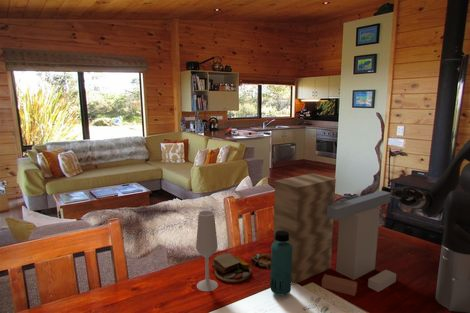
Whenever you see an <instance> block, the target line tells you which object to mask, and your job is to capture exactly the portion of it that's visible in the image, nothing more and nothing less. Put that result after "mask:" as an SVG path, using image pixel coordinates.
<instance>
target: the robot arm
mask: <svg viewBox="0 0 470 313" xmlns="http://www.w3.org/2000/svg"><path fill="white" fill-rule="evenodd" d="M465 160H466V161H468V163H466V164H465V165H464V166H463V167H462V165H463V162H464V161H465ZM461 167H462V169H461ZM459 185H460V187H461V189H462V190H463V191H461V190H457V188H458V186H459ZM380 191H385V192H389V193H391V197H392V198H396V199H398V202H400V203H401V204H402V205H404V206H406V207H410V208H411V209H413V208H414V209H417V210H421V211H422V212H423V214H425V215H426V216H427V217H434V216H436V215H438V214H439V213H440V212H441V210H442V208H443V206H444V204H445V206H444V208H445V209H444V225H443V226H444V227H443V235H442V239H441V246H440V248H441V249H440V256H439V257H440V258H439V263H438V272H437V280H436V282H437V283H436V290H435V297H434V298H435V300H436V302H437V303H438V304H440V305H441V306H443V307H444V308H446V309H447V310H448V311H450V312H456V313H457V312H458V313H470V233H468V232H467V231H465V230H464V229H463V228H462V227H460V226H466V227H469V228H470V138H469V139H468V140H467V141H466V142H465V143H464V144H463V146H462V147H461V148H460V150H459V151H458V152H457V154H456V155H455V157H454V158H453V159H452V160H451V161H450V164H449V165H448V166H447V167H446V169H445V171H444V172H443V173H442V175H441V176H440V177H438V178H437V180H436V181H435V182H434V183H433V184H432V185H431V186H430V188H429V191H427V190H424V191H421V190H420V189H417V188H415V187H413V186H404V187H402V188H396V187H391V188H390V187H388V186H382V187H381V190H380ZM459 225H460V226H459Z"/></svg>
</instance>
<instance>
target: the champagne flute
mask: <svg viewBox="0 0 470 313" xmlns="http://www.w3.org/2000/svg"><path fill="white" fill-rule="evenodd" d="M197 216H198V217H197V218H198V219H197V229H196V230H197V231H196V241H195V249H196V251H197V252H198V254H199V255H200V256H201V257H204V264H205V265H204V266H205V267H204V271H205V278H204V279H203V280H200V281H199V282H197V284H196V287H197V289H198V290H199V291H202V292H211V291H214V290H216V289H217V288H218V287H219V283H218V282H217V281H216V280H213V279H210V257H212V256H213V255H214V254H215V253H216V252H217V250H218V238H217V237H218V236H217V229H216V228H217V227H216V219H215V218H216V217H215V216H216V215H215V212H214V211H212V210H202V211H201V210H200V211H199V212H198V215H197Z"/></svg>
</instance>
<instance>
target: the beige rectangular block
mask: <svg viewBox="0 0 470 313" xmlns="http://www.w3.org/2000/svg"><path fill="white" fill-rule="evenodd" d="M396 282H397V273H396V272H393V271H390V270H388V269H384V270H383V271H380V272H378V273H377V274H375V275H373V276H371V277H369V278H368V282H367V287H368V288H369V289H371V290H374V291H376V292H377V293H379V292H380V291H383V290H384V289H386V288H388V287H389V286H390V285H393V284H394V283H396Z"/></svg>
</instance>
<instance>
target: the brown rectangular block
mask: <svg viewBox="0 0 470 313" xmlns="http://www.w3.org/2000/svg"><path fill="white" fill-rule="evenodd" d="M321 288H322V289H327V290H331V291H335V292H337V293H342V294H345V295H350V296H353V297H356V293H357V292H358V282H357V281H355V280H354V281H353V280H350V279H347V278H342V277H337V276H334V275H329V274H326V273H325V274H324V275H323V277H322V278H321Z"/></svg>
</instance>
